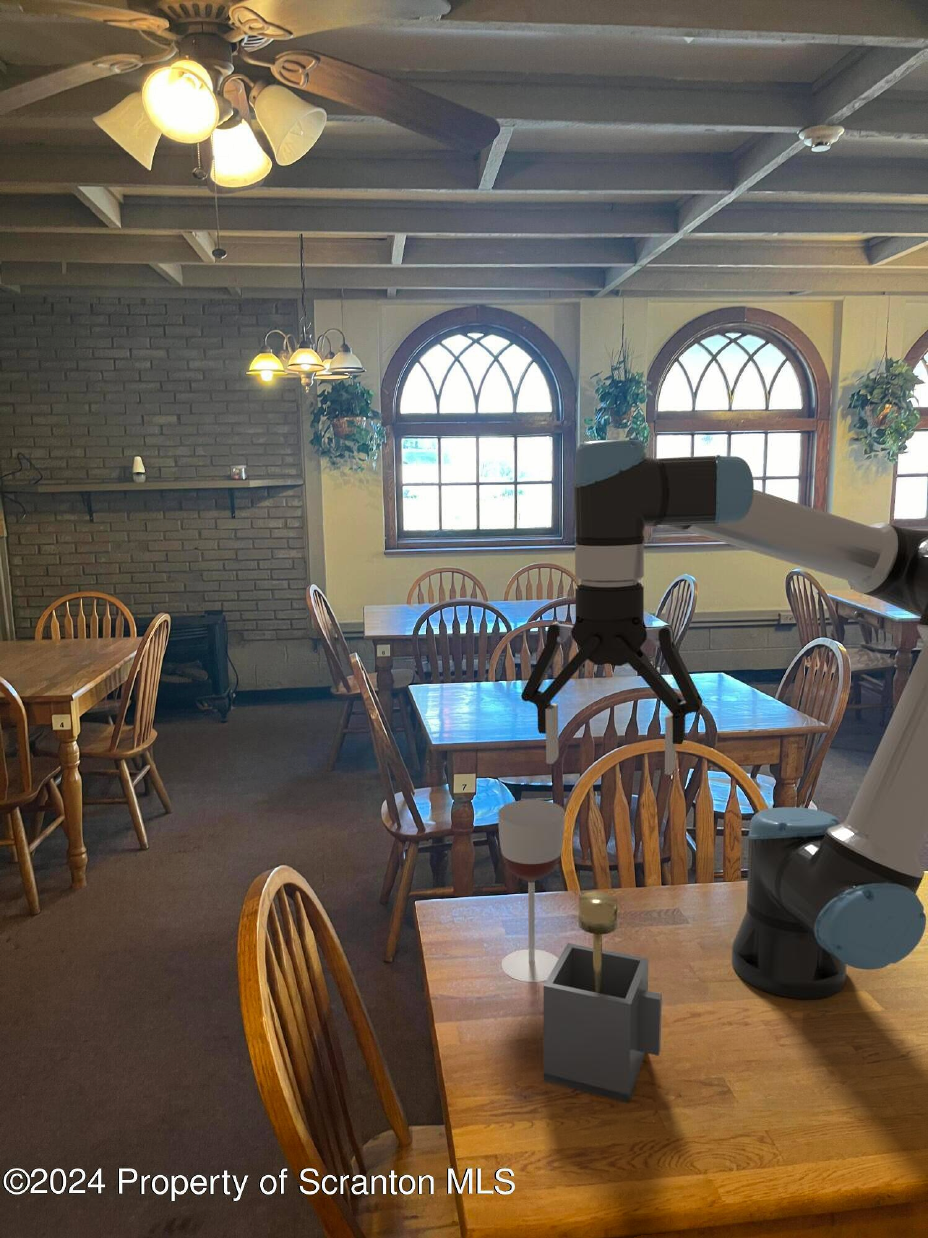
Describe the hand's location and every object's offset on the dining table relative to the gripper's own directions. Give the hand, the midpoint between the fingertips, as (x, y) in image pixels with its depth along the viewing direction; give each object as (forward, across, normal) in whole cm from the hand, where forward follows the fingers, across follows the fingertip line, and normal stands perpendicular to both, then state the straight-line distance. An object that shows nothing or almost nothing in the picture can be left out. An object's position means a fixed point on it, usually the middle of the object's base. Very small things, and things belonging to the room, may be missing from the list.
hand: (609, 765), depth 102 cm
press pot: (+36, 0, +3) cm, 36 cm away
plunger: (+34, +1, +3) cm, 34 cm away
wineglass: (+36, +15, -16) cm, 42 cm away
